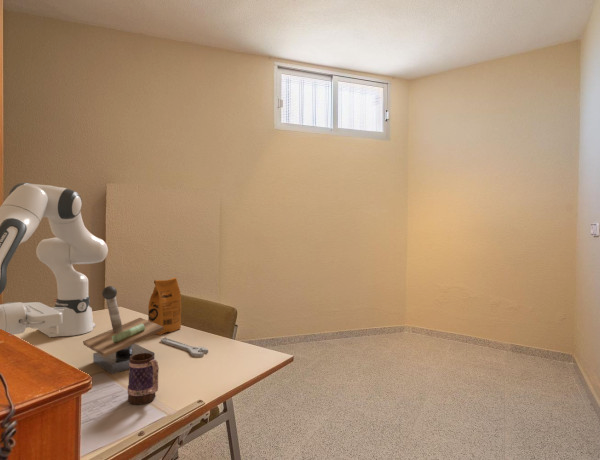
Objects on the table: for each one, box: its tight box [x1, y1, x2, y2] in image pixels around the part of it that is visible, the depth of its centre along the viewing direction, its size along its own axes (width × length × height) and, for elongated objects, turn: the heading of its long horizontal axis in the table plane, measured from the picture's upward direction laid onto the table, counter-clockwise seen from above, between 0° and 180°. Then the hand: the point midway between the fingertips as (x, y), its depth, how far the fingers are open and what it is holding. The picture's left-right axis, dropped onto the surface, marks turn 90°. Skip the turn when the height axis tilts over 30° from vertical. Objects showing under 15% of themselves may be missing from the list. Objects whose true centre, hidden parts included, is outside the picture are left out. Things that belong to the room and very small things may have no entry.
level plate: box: [82, 285, 164, 357], centre depth 130 cm, size 16×20×17 cm
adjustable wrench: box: [160, 337, 209, 358], centre depth 148 cm, size 25×6×2 cm, turn 50°
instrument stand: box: [92, 343, 155, 375], centre depth 132 cm, size 14×14×8 cm
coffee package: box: [147, 277, 182, 335], centre depth 167 cm, size 10×12×22 cm
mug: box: [127, 353, 160, 406], centre depth 105 cm, size 10×7×12 cm
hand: (68, 310), depth 122 cm, fingers closed
